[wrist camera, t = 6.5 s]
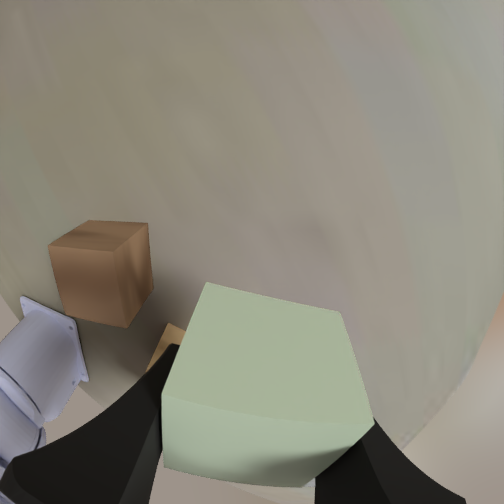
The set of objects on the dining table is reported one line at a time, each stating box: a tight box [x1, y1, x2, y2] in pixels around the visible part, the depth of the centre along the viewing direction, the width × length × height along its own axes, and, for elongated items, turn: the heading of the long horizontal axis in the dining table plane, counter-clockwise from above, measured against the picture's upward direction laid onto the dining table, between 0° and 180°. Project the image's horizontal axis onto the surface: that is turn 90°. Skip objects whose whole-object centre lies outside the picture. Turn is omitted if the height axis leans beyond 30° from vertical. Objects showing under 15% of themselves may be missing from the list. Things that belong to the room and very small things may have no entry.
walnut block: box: [48, 220, 154, 328], centre depth 16 cm, size 5×5×5 cm
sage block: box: [162, 282, 375, 487], centre depth 8 cm, size 5×5×5 cm
